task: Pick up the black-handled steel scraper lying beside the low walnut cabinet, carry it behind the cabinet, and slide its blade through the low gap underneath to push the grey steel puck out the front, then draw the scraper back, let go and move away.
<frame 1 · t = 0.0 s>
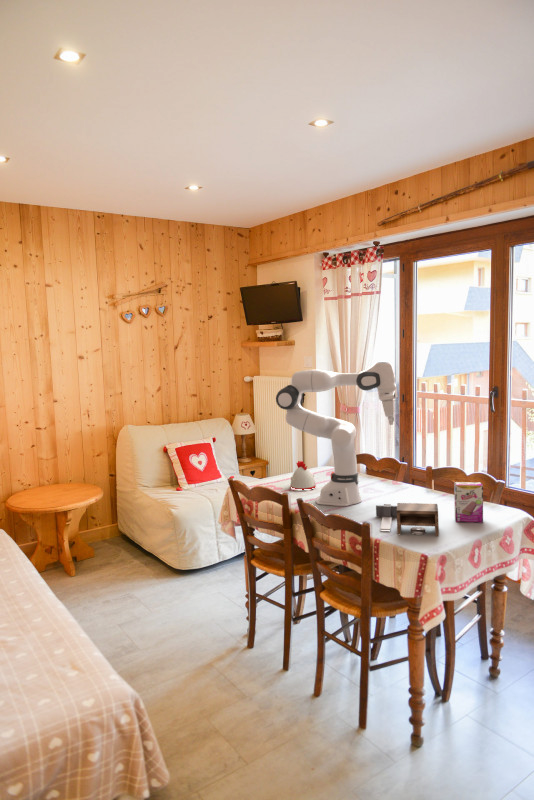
hand: (391, 423, 260), 39 cm above the table, tool pointing down, fingers open, 8 cm apart
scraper: (387, 518, 241), on the table
candy bar box: (468, 521, 231), on the table
walnut cabinet: (417, 531, 223), on the table
kitchen timer: (303, 488, 299), on the table
steel puck: (417, 532, 222), on the table
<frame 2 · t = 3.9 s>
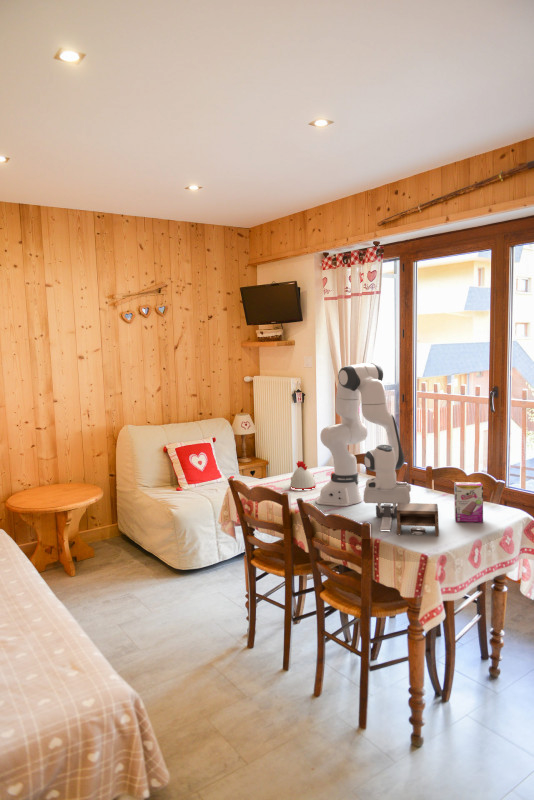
hand: (387, 512, 240), 3 cm above the table, tool pointing down, fingers closed on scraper, 3 cm apart
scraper: (387, 518, 241), on the table, touching gripper
everything else where it was.
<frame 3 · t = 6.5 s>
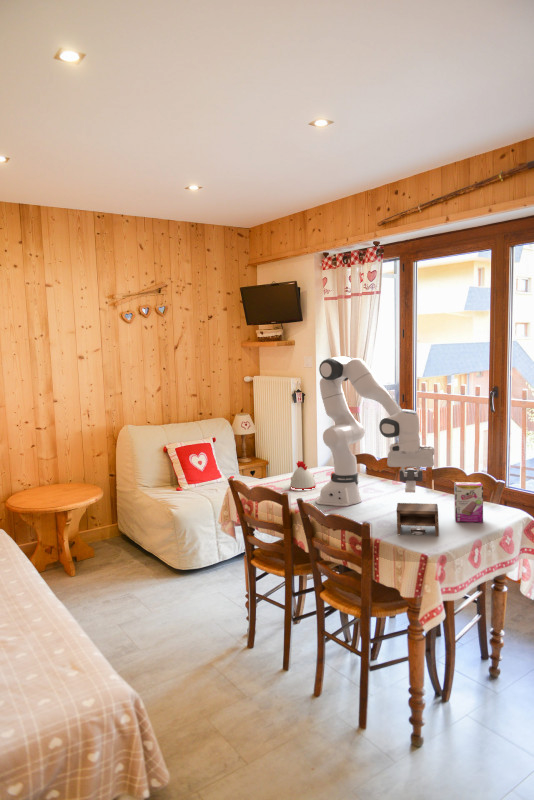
hand: (410, 476, 243), 17 cm above the table, tool pointing down, fingers closed on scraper, 3 cm apart
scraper: (411, 482, 243), point 15 cm above the table, touching gripper
everything else where it was.
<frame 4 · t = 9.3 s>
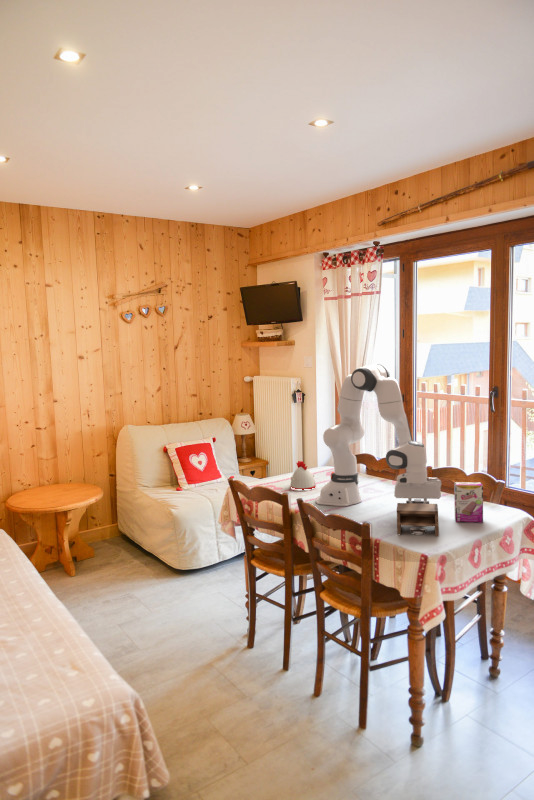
hand: (417, 507, 244), 3 cm above the table, tool pointing down, fingers closed on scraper, 3 cm apart
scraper: (418, 513, 245), on the table, touching gripper
everything else where it was.
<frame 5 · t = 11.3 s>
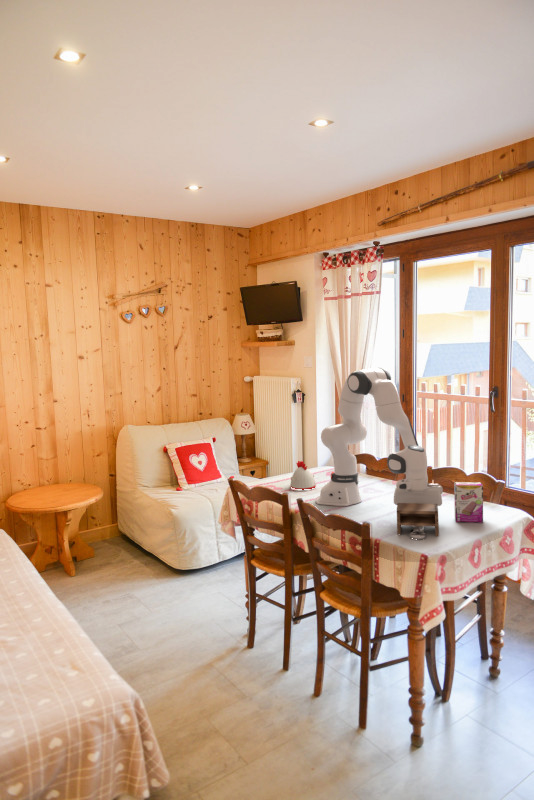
hand: (418, 514, 234), 3 cm above the table, tool pointing down, fingers closed on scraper, 3 cm apart
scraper: (418, 520, 235), on the table, touching gripper, steel puck
steel puck: (417, 537, 216), on the table, touching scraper
everything else where it was.
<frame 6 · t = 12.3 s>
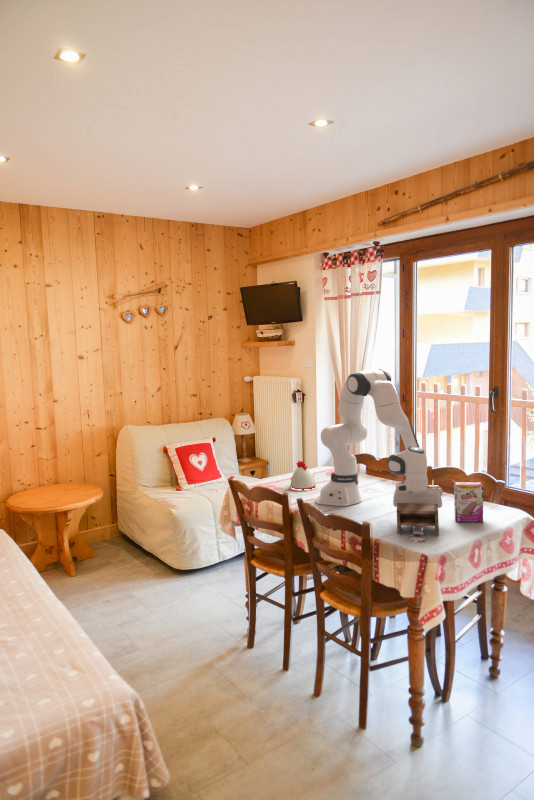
hand: (417, 516, 232), 3 cm above the table, tool pointing down, fingers closed on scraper, 3 cm apart
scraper: (418, 522, 233), on the table, touching gripper
steel puck: (417, 540, 214), on the table
everything else where it was.
when the fingers open (3 cm above the table, at t = 14.6 s): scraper stays where it is, on the table.
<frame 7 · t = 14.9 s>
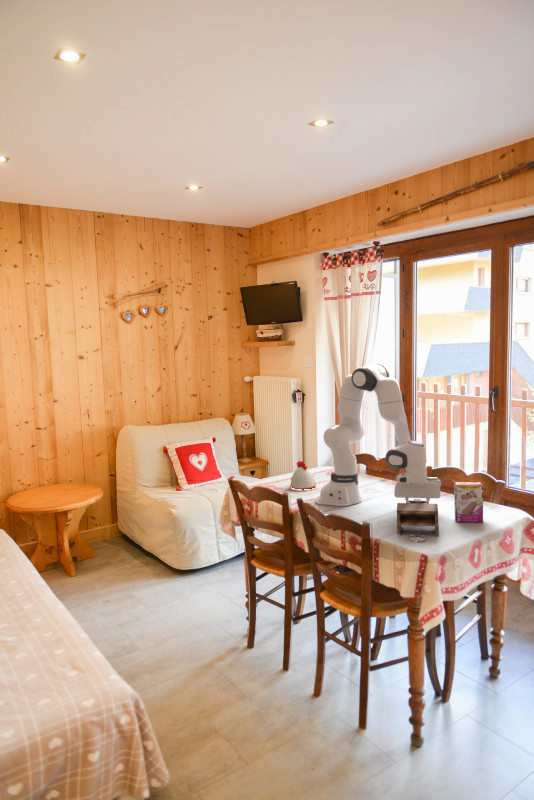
hand: (417, 507, 245), 3 cm above the table, tool pointing down, fingers open, 5 cm apart
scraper: (417, 513, 246), on the table
everything else where it was.
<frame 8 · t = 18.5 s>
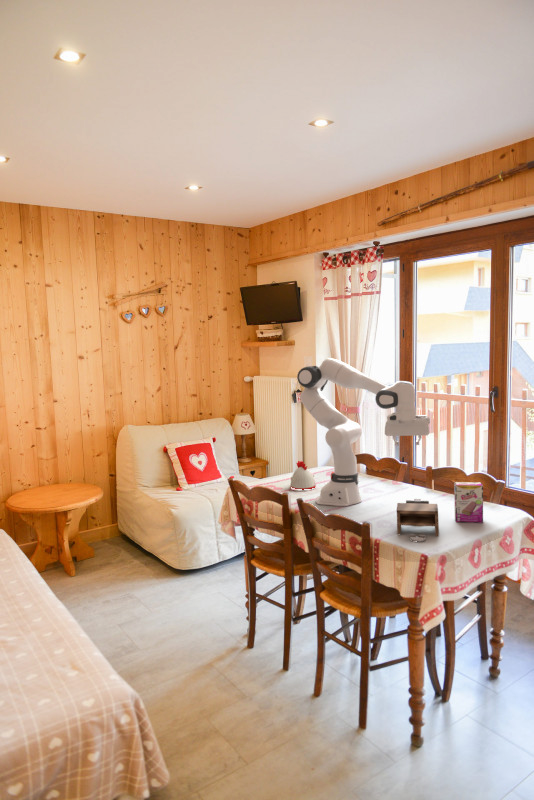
hand: (407, 444, 254), 29 cm above the table, tool pointing down, fingers open, 8 cm apart
nothing on the table moved.
at the end: steel puck inside the target area (4.1 cm from its centre), on the table; steel puck moved 8.4 cm from its start; the gripper is holding nothing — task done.
